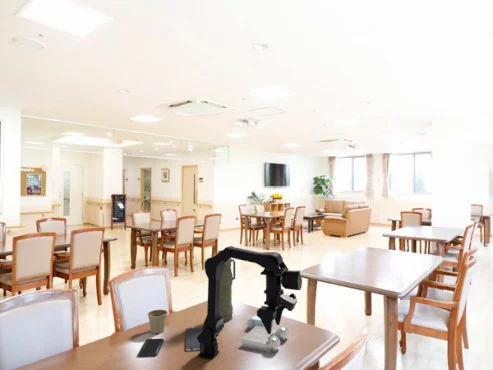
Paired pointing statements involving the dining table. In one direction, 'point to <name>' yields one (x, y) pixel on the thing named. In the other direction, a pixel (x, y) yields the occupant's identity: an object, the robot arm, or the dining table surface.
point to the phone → (151, 348)
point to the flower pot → (157, 320)
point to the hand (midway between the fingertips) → (273, 329)
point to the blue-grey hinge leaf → (255, 322)
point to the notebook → (192, 338)
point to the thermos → (226, 291)
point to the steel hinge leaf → (264, 338)
